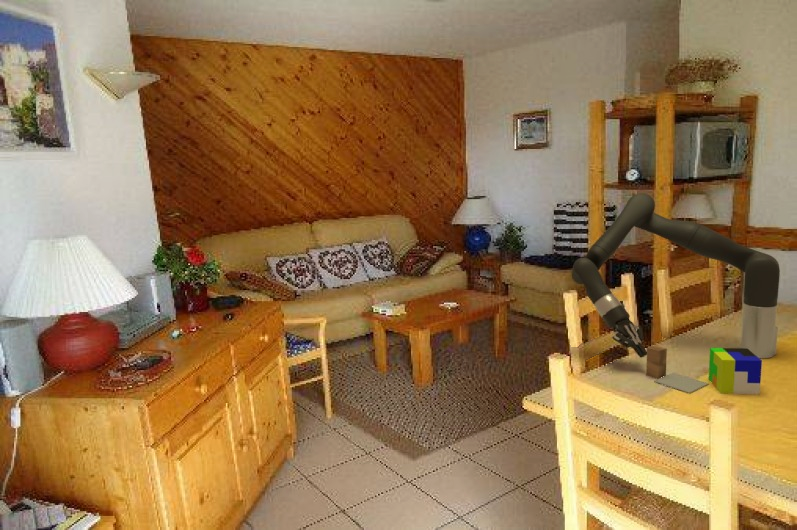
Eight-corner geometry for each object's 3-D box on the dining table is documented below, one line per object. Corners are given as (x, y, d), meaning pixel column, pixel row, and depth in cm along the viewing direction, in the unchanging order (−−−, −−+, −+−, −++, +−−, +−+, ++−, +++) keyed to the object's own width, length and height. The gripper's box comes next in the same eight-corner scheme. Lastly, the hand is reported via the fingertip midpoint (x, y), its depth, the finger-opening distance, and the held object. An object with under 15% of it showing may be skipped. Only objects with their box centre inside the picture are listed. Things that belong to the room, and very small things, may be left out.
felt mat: (673, 373, 173) (673, 372, 173) (708, 384, 164) (708, 383, 164) (653, 382, 168) (653, 380, 168) (689, 393, 159) (689, 392, 159)
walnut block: (653, 371, 175) (654, 344, 174) (665, 375, 172) (666, 348, 170) (645, 375, 173) (646, 347, 172) (658, 379, 170) (659, 351, 168)
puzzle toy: (759, 394, 156) (761, 360, 154) (720, 393, 158) (722, 360, 156) (745, 380, 166) (747, 348, 164) (708, 379, 168) (710, 347, 166)
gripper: (617, 312, 189) (649, 356, 181) (591, 320, 182) (623, 366, 174) (631, 300, 183) (665, 345, 175) (605, 308, 177) (639, 355, 169)
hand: (644, 355), depth 175 cm, fingers closed
